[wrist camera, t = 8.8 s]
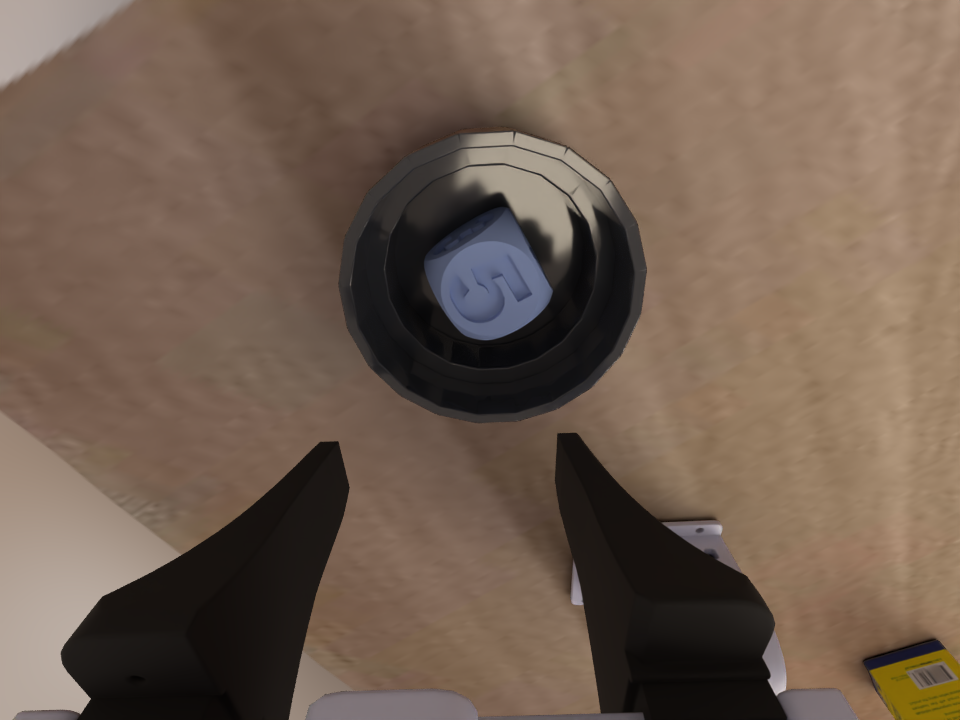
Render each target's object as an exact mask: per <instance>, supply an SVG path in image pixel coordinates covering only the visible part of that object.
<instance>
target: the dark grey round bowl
mask: <svg viewBox="0 0 960 720" xmlns="http://www.w3.org/2000/svg"><path fill="white" fill-rule="evenodd" d="M497 207H506V208H509V209H510V210H511V212H512V214H513V215H514V217H515V219H516V221H517V222H518V224H519V226H520V228H521V229H522V231H523V233H524V235H525V237H526V239H527V240H528V242H529V244H530V246H531V248H532V250H533V252H534V253H535V255H536V257H537V259H538V261H539V263H540V265H541V267H542V269H543V271H544V273H545V275H546V276H547V278H548V281H549V283H550V285H551V287H552V289H553V293H552V296H551V299H550V301H549V303H548V305H547V306H546V307H545V308H544V310H543V311H542V312H541V313H540V314H539V315H538V316H537V317H535V318H534V319H533V320H532V321H530V322H529V323H528V324H526V325H525V326H523V327H522V328H520V329H518V330H516V331H514V332H512V333H510V334H508V335H506V336H503V337H500V338H497V339H493V340H479V339H474V338H470V337H467V336H465V335H464V334H462V333H461V332H460V331H459V330H458V329H457V328H456V327H455V326H454V324H453V323H452V322H451V321H450V319H449V318H448V316H447V315H446V313H445V312H444V310H443V309H442V307H441V306H440V304H439V302H438V300H437V299H436V297H435V295H434V293H433V291H432V289H431V286H430V284H429V282H428V279H427V276H426V273H425V269H424V260H425V256H426V255H427V253H428V252H429V251H430V250H431V249H432V248H433V247H434V246H435V245H436V244H437V243H438V242H440V241H441V240H442V239H443V238H445V237H446V236H447V235H449V234H450V233H451V232H453V231H454V230H456V229H457V228H459V227H460V226H462V225H463V224H465V223H467V222H468V221H470V220H472V219H473V218H475V217H477V216H479V215H481V214H483V213H485V212H487V211H489V210H492V209H494V208H497ZM646 273H647V267H646V262H645V257H644V252H643V247H642V242H641V237H640V233H639V228H638V224H637V221H636V219H635V218H634V216H633V214H632V213H631V211H630V210H629V208H628V206H627V205H626V203H625V202H624V200H623V198H622V197H621V195H620V193H619V192H618V190H617V189H616V187H615V185H614V184H613V182H612V181H611V180H610V178H609V177H607V176H606V175H605V174H603V173H602V172H601V171H599V170H598V169H597V168H596V167H594V166H593V165H592V164H590V163H589V162H588V161H587V160H585V159H584V158H583V157H581V156H580V155H579V154H577V153H576V152H575V151H574V150H572V149H571V148H570V147H567V146H566V145H563V144H560V143H557V142H554V141H551V140H547V139H544V138H541V137H538V136H535V135H532V134H528V133H525V132H522V131H519V130H515V129H512V128H509V127H486V128H468V129H463V130H458V131H456V132H454V133H451V134H449V135H447V136H444V137H442V138H440V139H437V140H435V141H433V142H430V143H428V144H426V145H424V146H422V147H420V148H418V149H417V150H415V151H413V152H411V153H410V154H408V155H407V156H405V157H404V158H403V159H402V160H401V161H400V162H399V163H397V164H396V165H395V166H394V167H393V168H392V169H391V170H390V171H389V172H388V173H387V174H386V175H385V176H384V177H383V178H382V179H381V180H379V181H378V182H377V183H376V184H375V185H374V186H373V187H372V188H371V189H370V190H369V191H368V193H367V194H366V195H365V197H364V199H363V201H362V203H361V205H360V207H359V209H358V211H357V213H356V215H355V217H354V219H353V221H352V223H351V225H350V227H349V229H348V231H347V233H346V235H345V238H344V243H343V251H342V259H341V267H340V275H339V283H338V284H339V291H340V296H341V300H342V305H343V310H344V315H345V319H346V324H347V328H348V331H349V333H350V334H351V336H352V338H353V340H354V341H355V343H356V345H357V347H358V348H359V350H360V352H361V354H362V355H363V357H364V359H365V360H366V362H367V364H368V366H370V368H371V369H372V370H373V371H374V372H375V373H376V374H377V375H378V376H379V377H380V378H382V379H383V380H384V381H385V382H386V383H387V384H388V385H389V386H390V387H391V388H392V389H393V390H394V391H395V392H396V393H398V394H399V395H400V396H401V397H403V398H405V399H407V400H409V401H411V402H413V403H415V404H417V405H419V406H421V407H423V408H425V409H427V410H429V411H430V412H432V413H434V414H437V415H440V416H445V417H450V418H454V419H459V420H464V421H468V422H473V423H494V422H517V421H521V420H524V419H527V418H531V417H534V416H537V415H540V414H544V413H547V412H550V411H553V410H556V409H558V408H560V407H562V406H563V405H565V404H566V403H568V402H570V401H571V400H573V399H574V398H576V397H578V396H579V395H581V394H582V393H584V392H586V391H587V390H589V389H590V388H592V386H594V385H595V384H596V383H597V382H598V381H599V380H600V379H601V377H602V376H603V375H604V374H605V373H606V372H607V371H608V370H609V369H610V368H611V366H612V365H613V364H614V363H615V362H616V361H617V360H618V359H619V358H620V357H621V355H622V354H623V352H624V349H625V347H626V345H627V343H628V341H629V339H630V337H631V335H632V333H633V331H634V329H635V326H636V324H637V322H638V320H639V318H640V315H641V311H642V303H643V296H644V288H645V281H646Z"/></svg>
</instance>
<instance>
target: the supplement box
mask: <svg viewBox="0 0 960 720" xmlns="http://www.w3.org/2000/svg"><path fill="white" fill-rule="evenodd" d="M864 665H865V666H866V668H867V670H868V671H869V674H870V676H871V678H872V681H873V684H874V688H875V690H876V692H877V693H878V695H879V696H880V698H881V699H882V701H883V702H884V704H885V705H886V707H887V708H888V710H889V711H890V713H891V714H892V715H893V717H894V718H895V720H960V664H959V663H958V662H957V661H956V660H955V659H954V657H953V656H952V655H951V654H950V653H949V652H948V651H947V650H946V648H945V647H944V646H943V645H942V644H941V643H940V641H938V640H933V641H930V642H926V643H923V644H919V645H916V646H913V647H909V648H906V649H903V650H899V651H896V652H892V653H889V654H885V655H882V656H878V657H875V658H871V659H868V660H865V661H864Z"/></svg>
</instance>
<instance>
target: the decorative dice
mask: <svg viewBox="0 0 960 720" xmlns="http://www.w3.org/2000/svg"><path fill="white" fill-rule="evenodd" d="M424 269H425V273H426V276H427V279H428V282H429V284H430V286H431V289H432V291H433V293H434V295H435V297H436V299H437V300H438V302H439V304H440V306H441V307H442V309H443V310H444V312H445V313H446V315H447V316H448V318H449V319H450V321H451V322H452V323H453V324H454V326H455V327H456V328H457V329H458V330H459V331H460V332H461V333H462V334H464V335H465V336H467V337H470V338H474V339H479V340H493V339H497V338H500V337H503V336H506V335H508V334H510V333H512V332H514V331H516V330H518V329H520V328H522V327H523V326H525V325H526V324H528V323H529V322H530V321H532V320H533V319H534V318H535V317H537V316H538V315H539V314H540V313H541V312H542V311H543V310H544V308H545V307H546V306H547V305H548V303H549V301H550V299H551V296H552V293H553V289H552V287H551V285H550V283H549V281H548V278H547V276H546V275H545V273H544V271H543V269H542V267H541V265H540V263H539V261H538V259H537V257H536V255H535V253H534V252H533V250H532V248H531V246H530V244H529V242H528V240H527V239H526V237H525V235H524V233H523V231H522V229H521V228H520V226H519V224H518V222H517V221H516V219H515V217H514V215H513V214H512V212H511V210H510V209H509V208H506V207H497V208H494V209H492V210H489V211H487V212H485V213H483V214H481V215H479V216H477V217H475V218H473V219H472V220H470V221H468V222H467V223H465V224H463V225H462V226H460V227H459V228H457V229H456V230H454V231H453V232H451V233H450V234H449V235H447V236H446V237H445V238H443V239H442V240H441V241H440V242H438V243H437V244H436V245H435V246H434V247H433V248H432V249H431V250H430V251H429V252H428V253H427V255H426V256H425V260H424Z"/></svg>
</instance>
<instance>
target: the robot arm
mask: <svg viewBox="0 0 960 720" xmlns="http://www.w3.org/2000/svg"><path fill="white" fill-rule="evenodd" d="M555 484H556V491H557V497H558V503H559V509H560V513H561V517H562V520H563V524H564V528H565V531H566V535H567V538H568V542H569V545H570V549H571V553H572V556H573V570H572V583H571V596H570V598H571V602H572V603H573V604H574V605H584V610H585V615H586V621H587V627H588V633H589V639H590V645H591V651H592V657H593V664H594V670H595V677H596V683H597V690H598V696H599V703H600V710H601V714H566V715H530V716H494V717H478V713H477V710H476V708H475V707H474V705H473V704H472V702H471V701H470V700H469V699H468V698H467V697H465V696H463V695H461V694H459V693H457V692H455V691H451V690H442V689H404V690H369V691H341V692H336V693H330V694H325V695H324V696H322V697H321V698H320V699H318V700H316V701H315V702H314V703H312V704H311V705H309V708H308V712H307V715H306V719H305V720H859V719H858V717H857V716H856V714H855V713H854V711H853V709H852V708H851V706H850V705H849V703H848V702H847V700H846V698H845V697H844V695H843V694H842V692H841V691H840V690H838V689H836V688H816V689H791V690H786V668H785V662H784V658H783V654H782V651H781V647H780V644H779V641H778V639H777V636H776V633H775V631H774V627H775V621H774V617H773V615H772V613H771V612H770V610H769V608H768V606H767V605H766V603H765V601H764V600H763V598H762V597H761V595H760V594H759V592H758V591H757V589H756V588H755V587H754V585H753V584H752V583H751V582H750V580H749V579H748V577H747V576H746V575H744V574H743V573H742V572H741V570H740V568H739V566H738V565H737V563H736V561H735V560H734V558H733V556H732V554H731V553H730V551H729V549H728V548H727V546H726V544H725V542H724V541H723V539H722V537H721V532H722V529H723V527H722V525H721V524H720V522H719V521H716V520H707V521H682V522H660V521H658V520H657V519H656V518H655V517H654V516H652V515H651V514H650V513H649V512H648V511H647V510H645V509H644V508H643V507H642V506H641V505H640V504H639V503H638V502H636V501H635V500H634V499H633V498H632V497H631V496H630V495H629V494H628V493H627V492H626V491H625V490H624V489H623V488H622V487H621V486H620V485H619V484H618V482H617V481H616V480H615V479H614V478H613V477H612V476H611V475H610V474H609V472H608V471H607V470H606V469H605V468H604V467H603V466H602V464H601V463H600V462H599V461H598V460H597V458H596V457H595V456H594V455H593V453H592V452H591V451H590V449H589V448H588V447H587V446H586V444H585V443H584V441H583V440H582V439H581V437H580V436H579V435H578V434H577V433H557V452H556V470H555ZM349 488H350V487H349V483H348V479H347V475H346V471H345V467H344V462H343V458H342V454H341V450H340V446H339V442H338V441H334V442H320V443H318V444H317V445H316V446H315V447H314V448H313V449H312V450H311V451H310V452H309V453H308V454H307V455H306V456H305V457H304V458H303V459H302V460H301V461H300V462H299V463H298V464H297V465H296V466H295V467H294V468H293V469H292V470H291V471H290V472H289V473H288V474H287V475H286V476H285V477H284V478H283V479H282V480H280V481H279V482H278V483H277V484H276V485H275V486H274V487H273V488H272V489H271V490H269V491H268V492H267V493H266V494H265V495H264V496H263V497H261V498H260V499H259V500H258V501H257V502H256V503H255V504H254V505H252V506H251V507H250V508H249V509H247V510H246V511H245V512H244V513H242V514H241V515H240V516H239V517H237V518H236V519H235V520H233V521H232V522H231V523H229V524H228V525H227V526H225V527H224V528H222V529H221V530H220V531H218V532H217V533H215V534H214V535H212V536H211V537H209V538H208V539H206V540H205V541H203V542H202V543H200V544H198V545H197V546H195V547H194V548H192V549H191V550H189V551H188V552H186V553H184V554H183V555H181V556H179V557H178V558H176V559H174V560H173V561H171V562H169V563H167V564H165V565H164V566H162V567H160V568H158V569H157V570H155V571H153V572H151V573H149V574H147V575H145V576H144V577H142V578H140V579H137V580H135V581H133V582H131V583H130V584H127V585H125V586H123V587H121V588H120V589H117V590H115V591H113V592H111V593H109V594H107V595H105V596H103V597H102V598H101V599H100V600H99V601H98V603H97V604H96V605H95V606H94V608H93V609H92V610H91V612H90V613H89V614H88V615H87V617H86V618H85V619H84V620H83V622H82V623H81V624H80V626H79V627H78V628H77V629H76V631H75V632H74V633H73V634H72V636H71V637H70V638H69V640H68V641H67V642H66V643H65V645H64V647H63V649H62V651H61V659H62V664H63V666H64V667H65V669H66V670H67V672H68V673H69V674H70V675H71V676H72V677H73V679H74V680H75V681H76V682H77V683H78V684H79V686H80V687H81V688H82V689H83V690H84V691H85V692H86V694H87V695H88V696H89V697H90V698H91V700H90V701H89V703H88V704H87V706H86V707H85V709H84V710H83V712H82V713H81V714H79V713H77V712H74V711H70V710H41V711H40V710H39V711H38V710H37V711H22V712H20V713H18V714H17V715H16V716H15V718H14V719H13V720H289V714H290V709H291V703H292V698H293V693H294V688H295V683H296V678H297V674H298V668H299V664H300V659H301V654H302V650H303V646H304V641H305V637H306V633H307V628H308V624H309V620H310V616H311V612H312V608H313V604H314V600H315V596H316V593H317V590H318V586H319V583H320V580H321V577H322V575H323V572H324V569H325V566H326V564H327V561H328V558H329V555H330V553H331V550H332V547H333V544H334V542H335V539H336V536H337V533H338V530H339V528H340V525H341V522H342V519H343V516H344V512H345V507H346V503H347V498H348V493H349Z"/></svg>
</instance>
